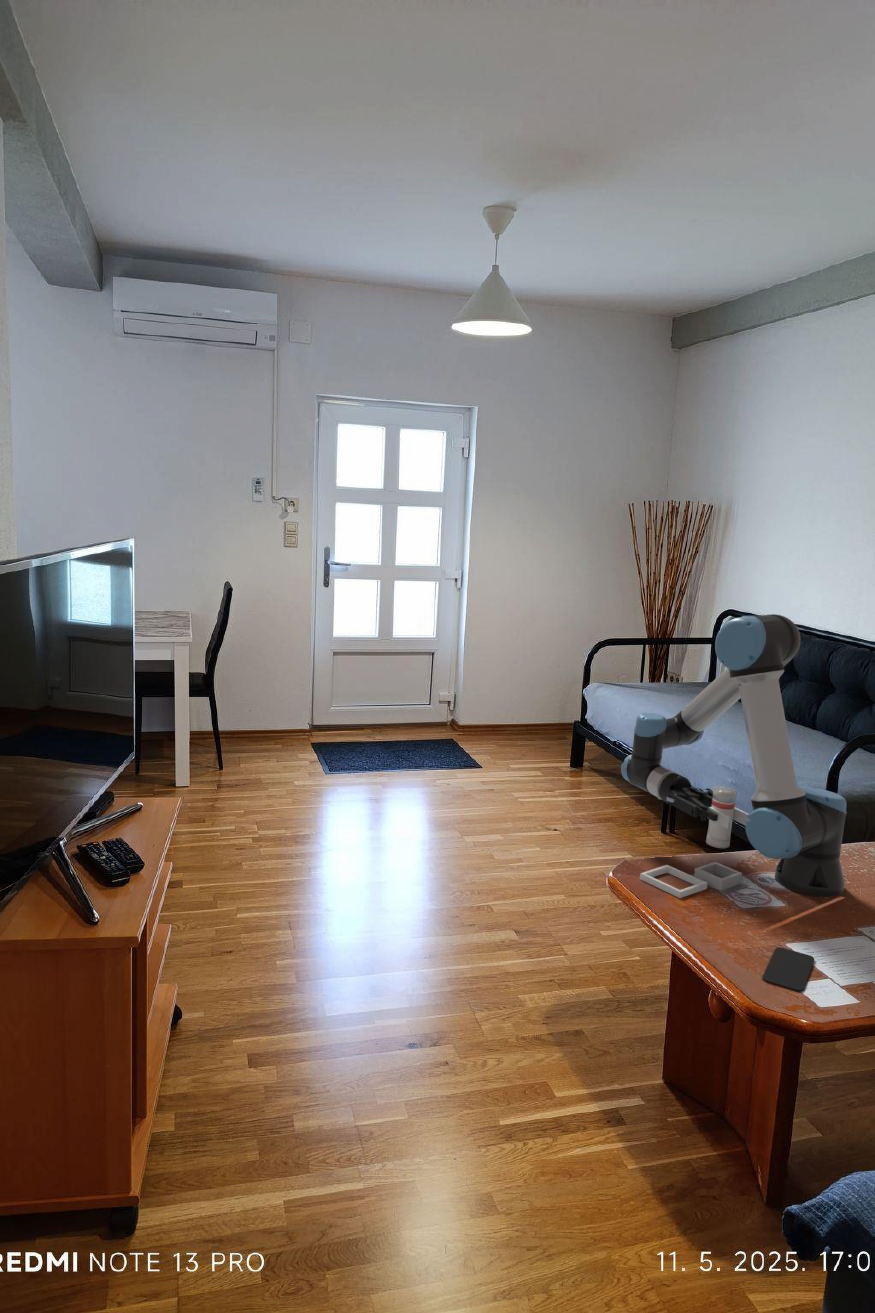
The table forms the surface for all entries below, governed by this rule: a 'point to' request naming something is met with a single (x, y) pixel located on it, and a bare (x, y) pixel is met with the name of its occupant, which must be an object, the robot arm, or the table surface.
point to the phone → (788, 969)
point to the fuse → (725, 804)
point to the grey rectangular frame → (697, 886)
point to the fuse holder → (720, 877)
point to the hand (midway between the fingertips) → (738, 821)
